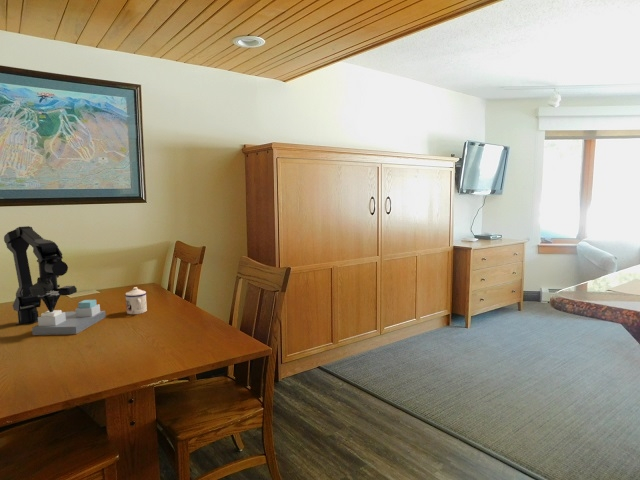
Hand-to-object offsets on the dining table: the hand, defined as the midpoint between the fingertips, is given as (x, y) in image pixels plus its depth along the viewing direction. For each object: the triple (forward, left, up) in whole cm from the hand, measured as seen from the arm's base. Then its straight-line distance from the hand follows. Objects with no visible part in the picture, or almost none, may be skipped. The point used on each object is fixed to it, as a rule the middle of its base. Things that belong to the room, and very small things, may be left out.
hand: (51, 311), depth 168 cm
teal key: (+8, +12, -2) cm, 15 cm away
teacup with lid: (+24, +24, -8) cm, 35 cm away
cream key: (0, 0, -3) cm, 3 cm away
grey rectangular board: (+4, +6, -8) cm, 11 cm away
